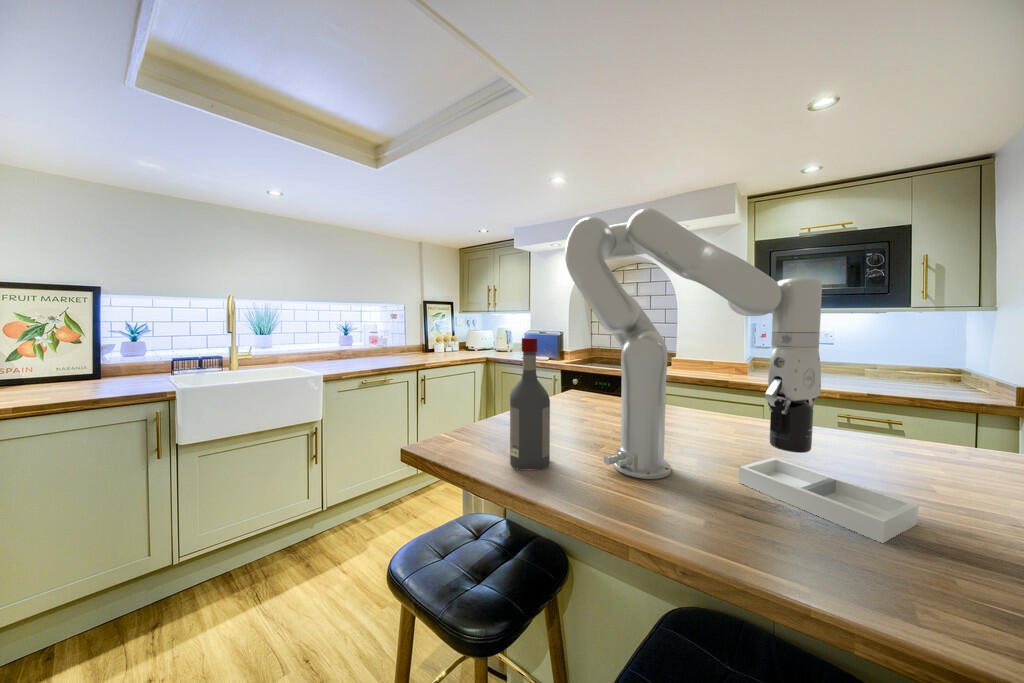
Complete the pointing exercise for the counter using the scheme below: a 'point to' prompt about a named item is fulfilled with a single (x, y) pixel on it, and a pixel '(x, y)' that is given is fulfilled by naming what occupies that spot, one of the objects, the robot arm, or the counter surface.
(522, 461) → the liquor
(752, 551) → the counter surface
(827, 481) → the caddy
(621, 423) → the robot arm
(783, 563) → the counter surface
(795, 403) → the supplement bottle
